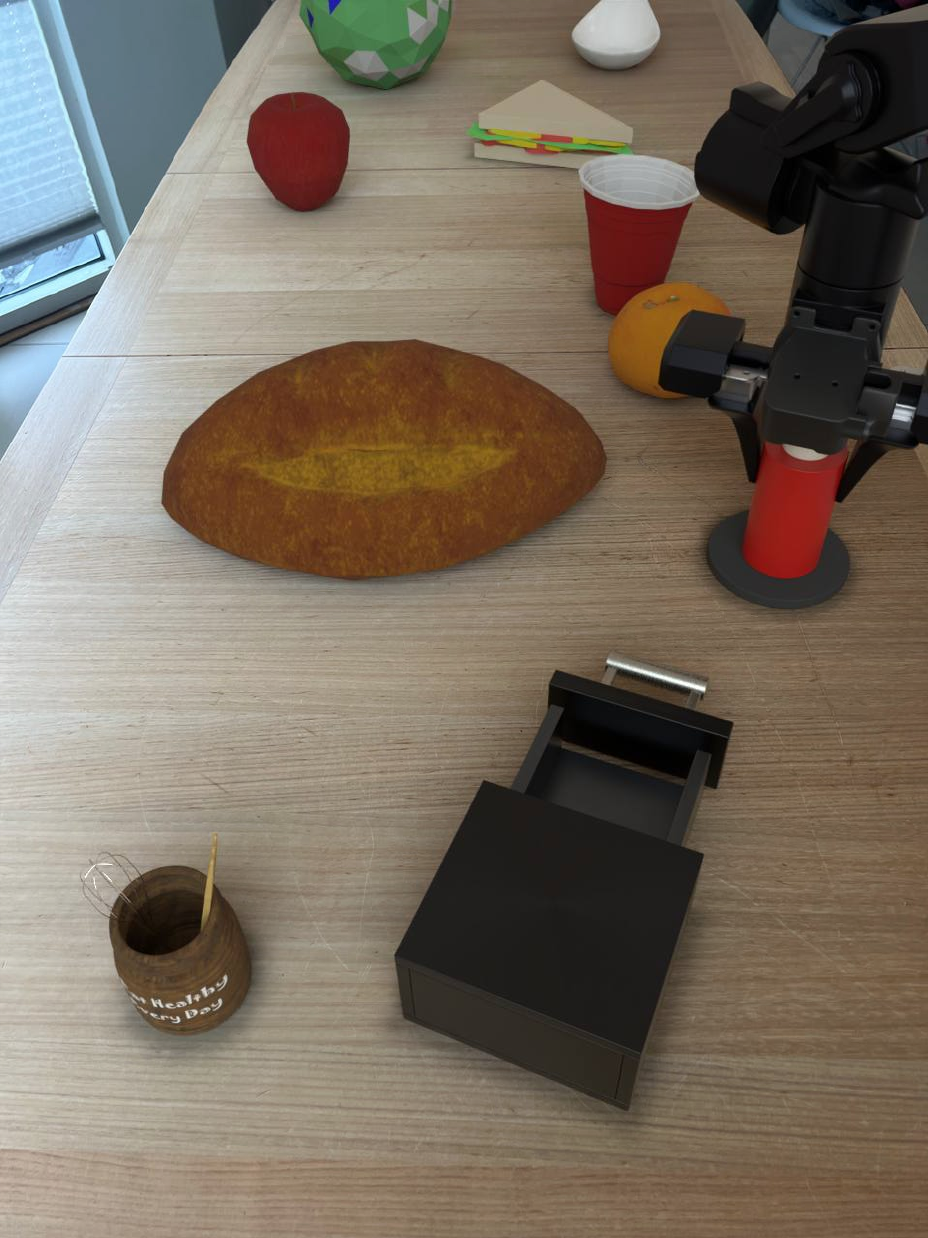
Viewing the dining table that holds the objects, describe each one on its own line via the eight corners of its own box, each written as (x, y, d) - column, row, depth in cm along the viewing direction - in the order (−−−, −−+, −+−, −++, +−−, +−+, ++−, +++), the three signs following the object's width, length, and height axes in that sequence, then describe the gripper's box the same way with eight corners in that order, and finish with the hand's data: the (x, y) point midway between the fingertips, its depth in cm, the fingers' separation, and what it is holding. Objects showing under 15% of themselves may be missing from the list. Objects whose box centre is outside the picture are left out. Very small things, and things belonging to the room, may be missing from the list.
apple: (371, 212, 115) (362, 98, 107) (277, 234, 112) (260, 118, 103) (334, 175, 122) (322, 65, 114) (245, 194, 119) (226, 83, 110)
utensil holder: (144, 932, 56) (79, 798, 47) (265, 925, 56) (222, 789, 47) (125, 1045, 51) (50, 919, 43) (256, 1036, 52) (207, 910, 43)
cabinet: (484, 848, 59) (483, 779, 54) (687, 921, 55) (704, 853, 51) (402, 1019, 52) (393, 955, 47) (628, 1112, 49) (641, 1054, 44)
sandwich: (562, 203, 115) (563, 156, 112) (449, 149, 126) (448, 105, 123) (661, 163, 122) (666, 118, 118) (546, 115, 133) (548, 73, 129)
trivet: (857, 535, 76) (860, 527, 76) (834, 624, 70) (837, 616, 69) (724, 504, 79) (726, 495, 78) (691, 587, 73) (692, 578, 72)
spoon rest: (652, 80, 140) (658, 20, 135) (564, 76, 143) (566, 16, 137) (669, 24, 157) (674, -32, 152) (589, 20, 159) (592, -35, 154)
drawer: (575, 672, 66) (579, 619, 63) (738, 721, 63) (751, 668, 60) (493, 846, 58) (492, 795, 54) (677, 911, 55) (688, 862, 51)
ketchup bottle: (824, 539, 75) (861, 411, 67) (810, 587, 71) (847, 458, 64) (750, 521, 76) (778, 395, 69) (733, 567, 73) (760, 439, 65)
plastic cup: (704, 322, 97) (724, 192, 89) (590, 337, 96) (599, 207, 87) (664, 267, 105) (679, 142, 96) (558, 280, 103) (563, 155, 95)
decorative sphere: (412, 143, 143) (280, 67, 131) (390, 64, 154) (265, -13, 142) (499, 17, 131) (362, -79, 119) (468, -59, 142) (340, -153, 130)
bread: (190, 428, 87) (155, 288, 79) (588, 411, 88) (598, 270, 79) (146, 608, 73) (98, 460, 64) (626, 586, 73) (643, 437, 64)
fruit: (594, 353, 94) (600, 268, 88) (712, 345, 94) (725, 260, 89) (616, 422, 87) (625, 333, 81) (744, 412, 87) (761, 324, 81)
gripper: (644, 303, 56) (621, 529, 67) (1023, 373, 51) (930, 606, 62) (698, 215, 64) (669, 433, 75) (1035, 268, 58) (950, 494, 69)
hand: (795, 489), depth 70 cm, fingers closed on ketchup bottle, 5 cm apart
